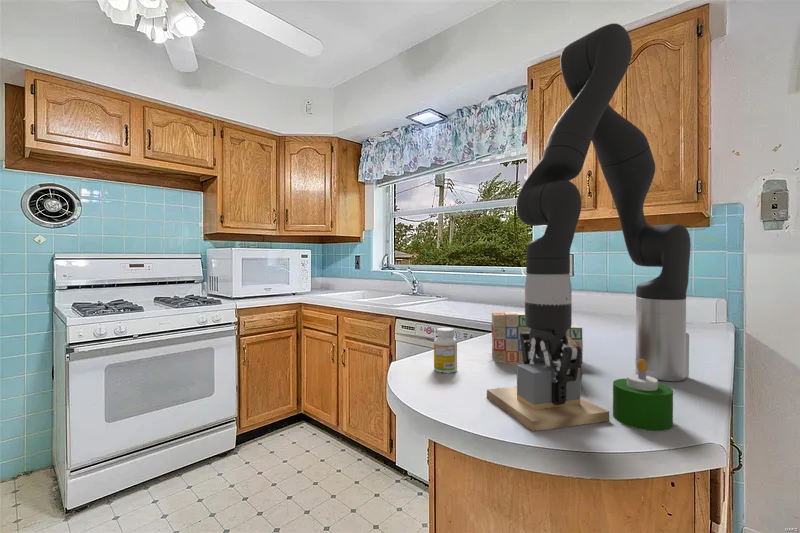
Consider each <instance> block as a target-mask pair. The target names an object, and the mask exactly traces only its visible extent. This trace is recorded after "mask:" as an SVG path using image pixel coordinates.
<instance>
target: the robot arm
mask: <svg viewBox="0 0 800 533" xmlns="http://www.w3.org/2000/svg"><path fill="white" fill-rule="evenodd" d="M632 46H633V45H632V41H631V37H630V35H629V33H628V31H627V30H626V29H625V27H624V26H623V25H621V24H619V23H609V24H605V25H603V26H601V27H599V28H596V29H594V30H593V31H591V32H589V33H587V34H586V35H583V36H581V37H579V38H578V39H576V40H574V41H573V42H571V43H569V44H568V45H566V46H565V47H564V48H563V50H562V51H561V54H560V57H559V65H560V71H561V74H562V78H563V80H564V83H565V85H566V88H567V90H568V93H569V94H570V96H571V98H572V100H573V101H572V102H571V103H570V104H569V105H568V107H567V108H566V109H565V110H564V112H563V113H562V114H561V115H560V117H559V118H558V119H557V121H556V122H555V124H554V126H553V127H552V129H551V131H550V134H549V136H548V139H547V142H546V145H545V147H544V150H543V153H542V156H541V159H540V160H539V161H538V164H537V165H536V166H535V167H534V168H533V170H532V171H531V173H530V175H529V176H528V177H527V179H526V181H525V182H524V183H523V185H522V187H521V188H520V191H519V193H518V196H517V199H516V213H517V216H518V219H520V221H521V222H522V223H524V224H525V225H527V226H534V227H535V226H536V227H537V226H546V228H545V231H544V233H543V235H542V236H541V237H539V238H536V239H533V240H531V241H529V242H528V243H527V246H526V252H525V258H526V259H525V260H526V263H525V266H526V267H525V268H526V270H525V271H526V275H525V283H524V311H525V325H526V326H527V327H528V328H531V330H530V332H526V333H520V341H521V348H522V356H523V363H522V364H523V365H524V364H536V363H546V367H547V368H548V369H549V370H550V371H551V378H552V381H553V382H552V403H553V404H555V405H562V404H565V402H566V384H567V382H570V381H576V379H577V373H578V367H579V362H580V356H581V348H580V347H579V346H575V347H573V346H572V345H570V344H569V343H568V339H567V336H566V332H567V330H568V329H570V328H571V326H572V324H573V321H572V319H573V318H572V317H573V316H572V308H573V307H572V304H573V303H572V301H573V300H572V296H573V295H572V291H573V290H572V282H571V274H570V273H571V247H572V244H573V242H574V241H573V240H574V238H575V234H576V233H575V232H576V229H577V227H578V223H579V219H580V216H581V211H582V196H581V193H580V191H579V189H578V187H577V186H576V185H575V184H574V183H573V182H572V181H571V180H573V179H576V178H577V177H578V176H579V175H580V174H581V171H582V169H583V166H584V165H585V164H584V163H585V161H586V158H587V154H588V152H589V148H590V146H591V143H592V146H593V148H594V151H595V153H596V157H597V160H598V163H599V166H600V169H601V171H602V175H603V177H604V180H605V181H606V184H607V186H608V189H609V192H610V194H611V197H612V199H613V204H614V205H615V208H616V211H617V215H618V220H619V223H620V227H621V230H622V234H623V238H624V243H625V247H626V249H627V253H628V256H629V257H630V260H631V261H632V262H633V263H634V264H635V265H636V266H640V267H649V268H651V267H655V268H658V267H659V268H661V272H660V274H659V275H658V276H657V277H655V278H653V279H650V280H648V281H645V282H644V281H643V282H641V283H639V284H638V283H637V285H636V287H635V288H636V289H635V373H636V375H638V369H637V363H638V361H639V360H640V359H644V360H645V361H646V363H647V370H646V376H650V377H653V378H655V379H657V380H658V381H666V382H680V381H684V380H686V378H689V377H690V334H689V333H688V332H687V290H688V286H689V277H690V276H689V274H690V259H691V243H692V242H691V237H690V233H689V230H688V229H687V228H686V226H684V225H683V224H680V223H670V224H657V225H649V224H648V223H647V221H646V217H645V212H644V205H645V200H646V197H647V196H648V193H649V190H650V188H651V186H652V183H653V180H654V178H655V173H656V163H655V159H654V156H653V153H652V149H651V146H650V144H649V141H648V138H647V136H646V135H645V133H644V132H643V131H642V130H641V129H640V128H639V127H637V125H635V124H634V123H632V122H631V121H629V120H628V119H627V118H625V117H624V116H623V115H621V114H620V113H618V112H617V110H615V109H614V108H613V107H612V106H611V105H610V102H611V100H612V99H613V97H614V95H615V93H616V91H617V89H618V87H619V85H620V83H621V82H622V80H623V79H624V76H625V74H626V72H627V71H628V68H629V65H630V63H631V59H632V54H633V47H632ZM528 344H529V345H528ZM529 351H530V354H529V358H530V359H529V358H528V352H529ZM559 359H560V362H559V363H554V362H553V361H557V360H559ZM557 367H558V368H560V372H559V375H558V374H557V370H556V368H557ZM569 369H570V373H569V374H568V372H567V371H568V370H569Z"/></svg>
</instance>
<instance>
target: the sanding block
mask: <svg viewBox="0 0 800 533" xmlns="http://www.w3.org/2000/svg"><path fill="white" fill-rule="evenodd" d="M559 362H560V361H559ZM559 362H554V363H559ZM556 370H557V374H558V375H559V372H560V368H558V367H557V368H556ZM567 372H568V374H569V373H570V369H569V370H568V371H567ZM552 382H553V381H552V378H551V371H550V370H549V369H548V368H547V367H546V363H536V364H524V363H523V364H518V365H516V386H517V399H518V400H519V401H521V402H522V403H524V404H526V405H527V406H529V407H530V408H532V409H533V410H535V409H543V408H551V407H559V406H568V405H576V404H580V397H581V382H580V368H578V373H577V379H576V381H570V382H567V384H566V402H565V404H562V405H555V404H553V403H552Z"/></svg>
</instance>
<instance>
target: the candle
mask: <svg viewBox="0 0 800 533" xmlns="http://www.w3.org/2000/svg"><path fill="white" fill-rule="evenodd" d="M637 369H638V374H628V375H627V376H626V378H617V379H615V380H614V381H613V382H612V417H613V418H614V420H616V421H618V422H619V423H621V424H623V425H625V426H628V427H631V428H633V429H639V430H644V431H653V432H657V431H658V432H661V431H662V432H664V431H668V430H670V429H672V428H674V427H673V426H674V390H673V389H672V388H671V387H670V386H668V385H666V384H663V383H661V382H659V380H657V379H655V378H653V377H650V376H646V370H647V363H646V361H645V360H644V359H640V360H639V361H638V363H637Z"/></svg>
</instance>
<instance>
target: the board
mask: <svg viewBox="0 0 800 533" xmlns="http://www.w3.org/2000/svg"><path fill="white" fill-rule="evenodd" d="M486 398H487V399H489V401H491V402H493V404H495V405H497V406H498V407H499V408H501V409H502V410H503V411H505V412H506V413H508V414H509V415H511V417H513V418H514V419H516V420H517V421H518V422H520V423H521V424H522V425H524V426H525V427H526V428H528V429H529V430H530V431H532V432H534V431H537V432H538V431H544V430H550V429H552V430H553V429H558V428H560V429H561V428H565V427H566V428H567V427H573V426H581V425H587V424H588V425H589V424H595V423H601V422H602V423H603V422H610V411H609V410H607V409H605V408H603V407H600V406H598V405H597V404H594V403H592V402H591V401H589V400H587V399H585V398H584V397H581V396H580V404H576V405H568V406H559V407H551V408H543V409H535V410H533V409H532V408H530V407H529V406H527V405H526V404H524V403H522V402H521V401H519V400H518V399H517V385H516V386H508V387H507V386H506V387H498V388H488V389H486Z"/></svg>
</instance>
